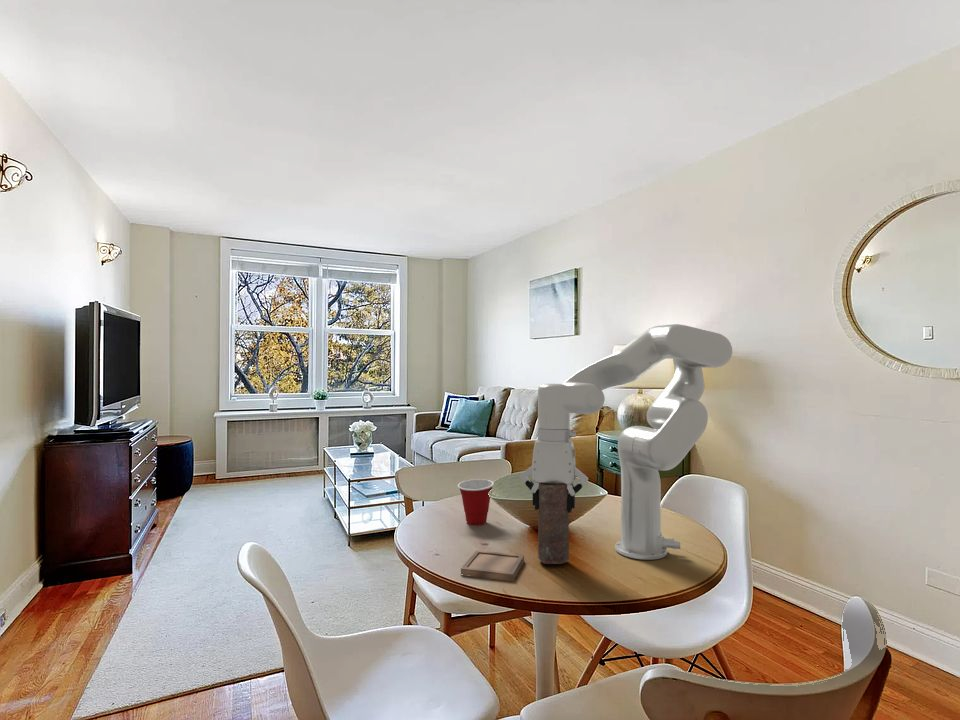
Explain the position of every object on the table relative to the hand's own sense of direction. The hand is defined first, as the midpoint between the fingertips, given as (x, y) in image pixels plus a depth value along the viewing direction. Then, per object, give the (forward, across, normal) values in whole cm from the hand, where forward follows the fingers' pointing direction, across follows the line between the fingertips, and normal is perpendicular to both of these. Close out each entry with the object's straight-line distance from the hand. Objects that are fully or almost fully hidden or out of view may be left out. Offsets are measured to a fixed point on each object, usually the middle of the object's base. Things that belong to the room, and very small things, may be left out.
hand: (553, 509), depth 127 cm
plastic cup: (+13, +27, -25) cm, 39 cm away
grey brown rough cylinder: (+13, 0, 0) cm, 13 cm away
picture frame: (+13, +13, +7) cm, 20 cm away
